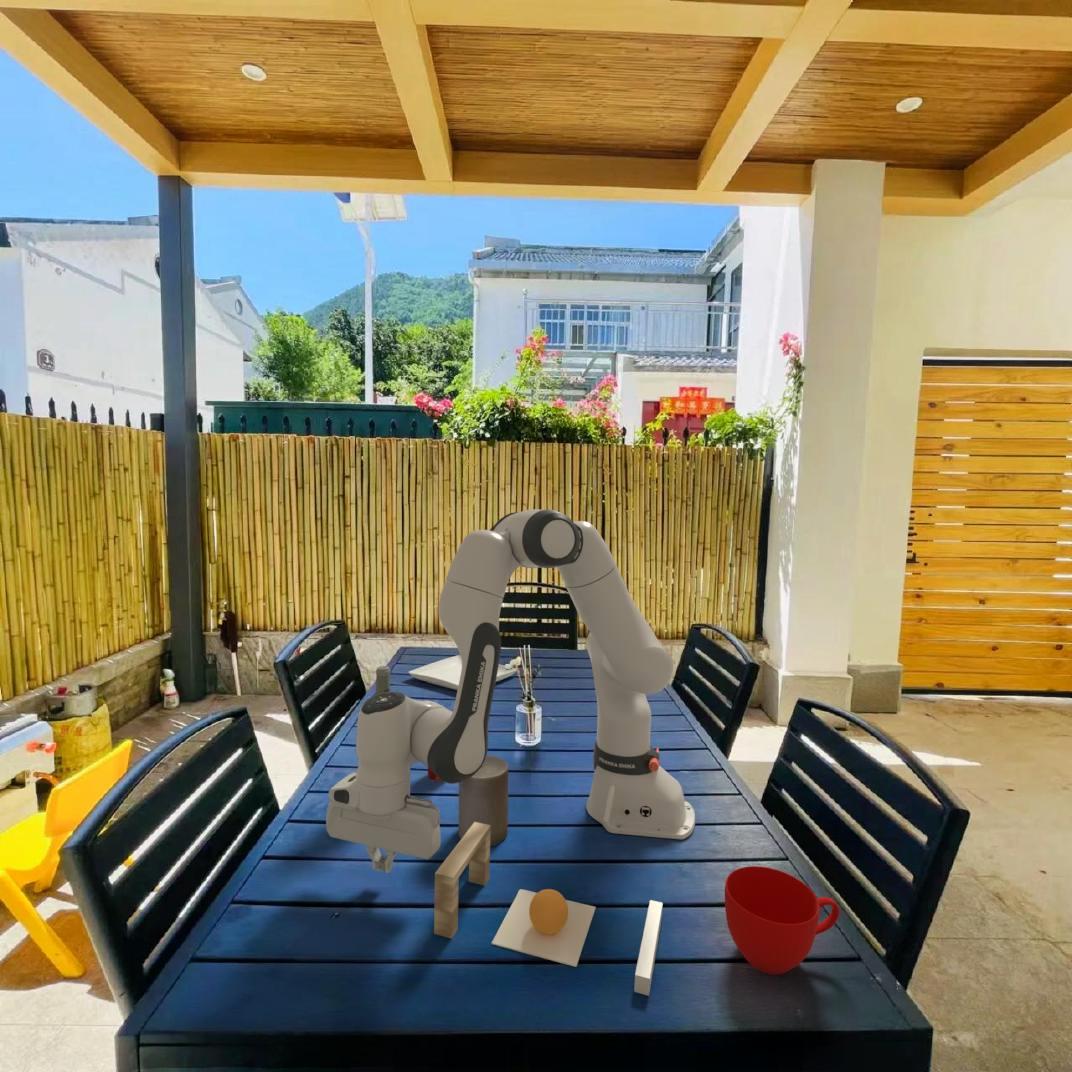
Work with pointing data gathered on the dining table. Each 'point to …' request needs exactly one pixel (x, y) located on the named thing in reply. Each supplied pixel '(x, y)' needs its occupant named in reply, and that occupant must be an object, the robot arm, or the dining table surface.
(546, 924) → the ball
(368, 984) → the dining table surface
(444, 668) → the square plate
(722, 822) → the dining table surface
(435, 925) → the bridge
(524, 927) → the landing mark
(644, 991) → the wall
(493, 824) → the pillar candle
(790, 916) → the ceramic cup
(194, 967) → the dining table surface
